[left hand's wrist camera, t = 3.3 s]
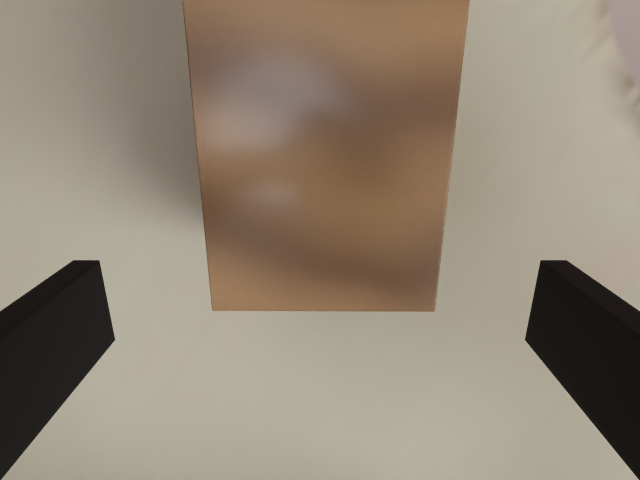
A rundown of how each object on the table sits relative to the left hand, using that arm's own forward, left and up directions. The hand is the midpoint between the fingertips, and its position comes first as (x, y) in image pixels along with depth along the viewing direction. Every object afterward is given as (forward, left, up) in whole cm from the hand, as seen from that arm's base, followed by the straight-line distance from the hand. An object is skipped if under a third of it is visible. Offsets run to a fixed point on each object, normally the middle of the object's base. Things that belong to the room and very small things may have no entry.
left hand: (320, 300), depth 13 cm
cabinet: (+5, -4, -16) cm, 17 cm away
